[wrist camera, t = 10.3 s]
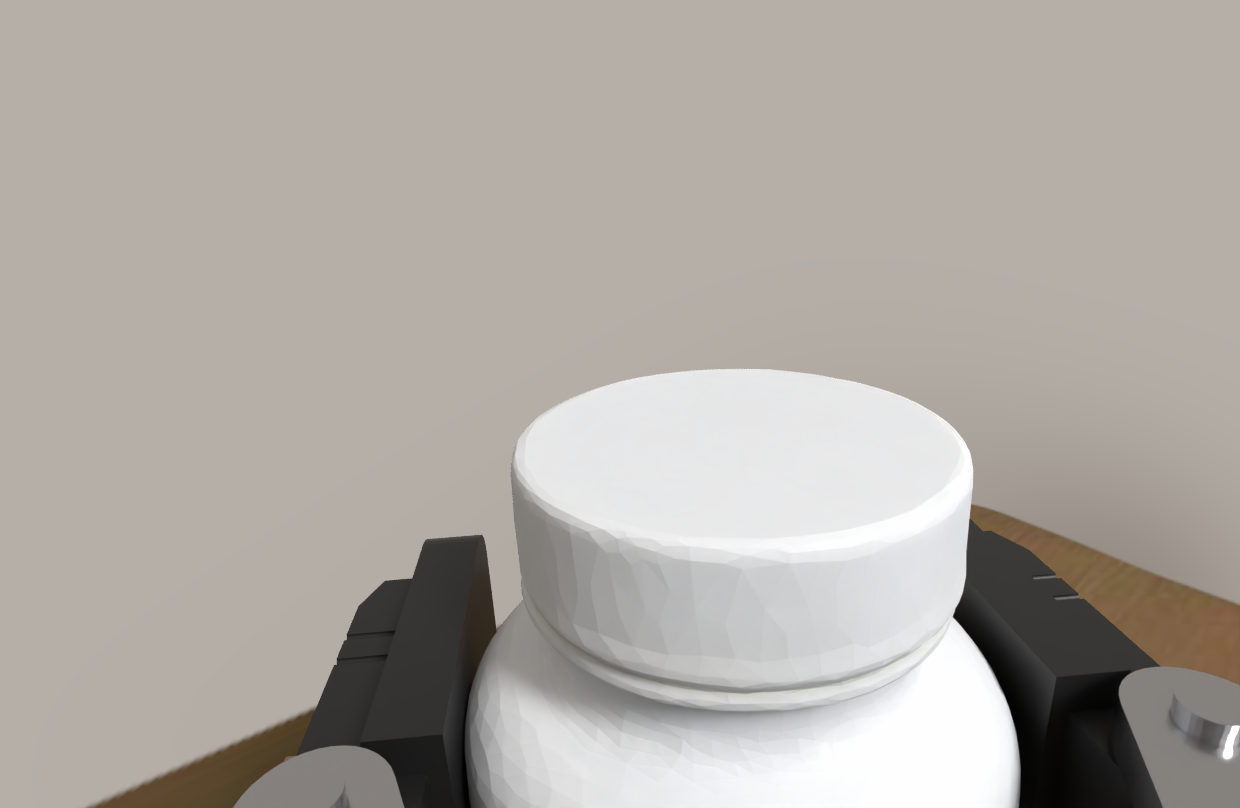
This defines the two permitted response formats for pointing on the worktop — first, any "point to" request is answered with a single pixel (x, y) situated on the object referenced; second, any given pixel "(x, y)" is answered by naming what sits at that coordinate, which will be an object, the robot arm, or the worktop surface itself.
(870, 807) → the supplement bottle
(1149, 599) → the worktop surface
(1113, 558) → the worktop surface
